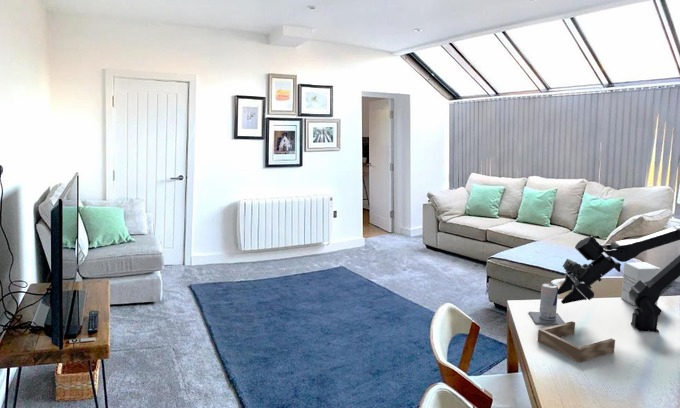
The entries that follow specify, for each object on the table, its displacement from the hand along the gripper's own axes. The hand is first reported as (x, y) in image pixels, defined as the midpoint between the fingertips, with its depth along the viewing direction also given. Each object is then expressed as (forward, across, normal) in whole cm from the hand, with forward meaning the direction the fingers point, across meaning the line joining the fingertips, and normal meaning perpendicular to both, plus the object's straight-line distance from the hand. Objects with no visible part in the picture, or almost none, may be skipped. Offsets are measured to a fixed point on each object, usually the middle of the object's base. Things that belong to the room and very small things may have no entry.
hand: (559, 298), depth 170 cm
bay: (+5, +20, +7) cm, 22 cm away
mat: (+8, 0, +3) cm, 9 cm away
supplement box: (-18, -27, +30) cm, 44 cm away
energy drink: (+8, 0, +3) cm, 9 cm away
